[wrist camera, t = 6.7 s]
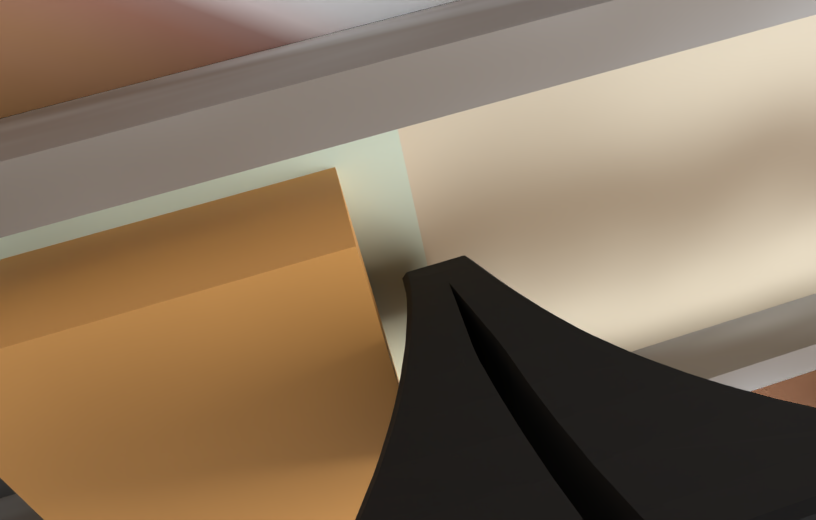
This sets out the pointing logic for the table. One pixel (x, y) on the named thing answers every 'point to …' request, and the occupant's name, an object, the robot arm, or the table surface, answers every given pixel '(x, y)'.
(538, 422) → the robot arm
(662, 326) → the trap lane
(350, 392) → the orange block
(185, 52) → the table surface
